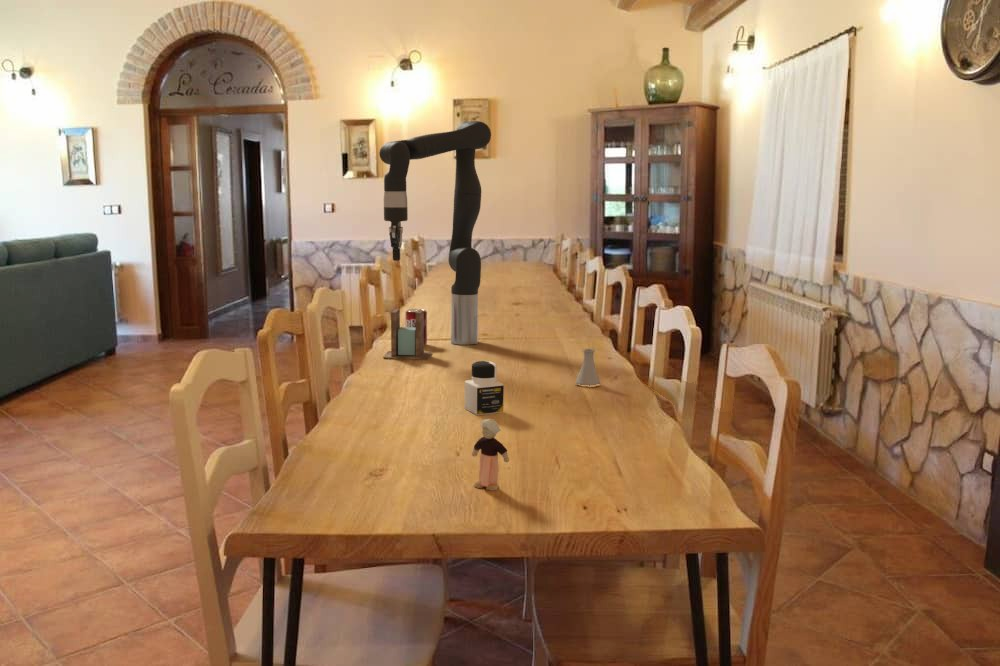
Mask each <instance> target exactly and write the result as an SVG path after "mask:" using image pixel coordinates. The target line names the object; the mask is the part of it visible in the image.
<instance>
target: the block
mask: <svg viewBox="0 0 1000 666" xmlns="http://www.w3.org/2000/svg"><path fill="white" fill-rule="evenodd" d="M398 355H416V327H406V326H405V327H403V326H400V328H399V329H398Z"/></svg>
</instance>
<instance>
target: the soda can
mask: <svg viewBox="0 0 1000 666" xmlns="http://www.w3.org/2000/svg"><path fill="white" fill-rule="evenodd" d="M419 309H420V308H411V309H410V308H409V309H407V310H406V311H405V312H404V313H405V315H404V316H405V318H404V319H405V327H416V312H417V311H418V310H419ZM427 343H428V311H427V310H426V309H424V347H425V346H426V345H427Z"/></svg>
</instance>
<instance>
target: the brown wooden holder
mask: <svg viewBox="0 0 1000 666" xmlns="http://www.w3.org/2000/svg"><path fill="white" fill-rule="evenodd" d="M418 309H419V310H418V311H417V312H416V355H398V329H399V328H400V327H401V321H400V320H401V309H400V308H394V309H393V310H392V311H391V312H390V342H391V343H390V350H387V352H386V353H385V354H384V355H383V357H382V359H383V358H396V359H395V360H412V359H419V360H420V361H423V360H424V361H428V360H429V359H428V358H430V357H431V355H432V351H425V346H424V310H425V309H424V308H423V309H422V308H418ZM397 358H398V359H397ZM427 359H428V360H427ZM419 360H418V361H419Z"/></svg>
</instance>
